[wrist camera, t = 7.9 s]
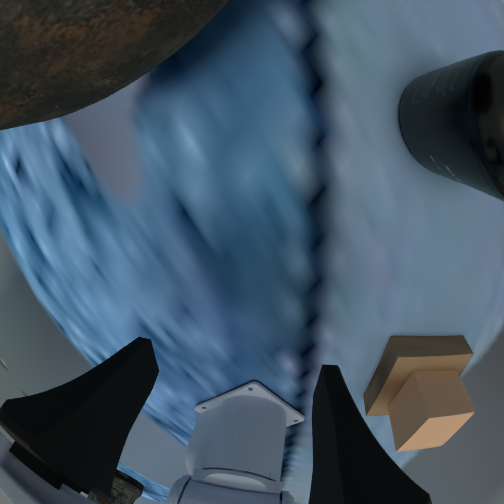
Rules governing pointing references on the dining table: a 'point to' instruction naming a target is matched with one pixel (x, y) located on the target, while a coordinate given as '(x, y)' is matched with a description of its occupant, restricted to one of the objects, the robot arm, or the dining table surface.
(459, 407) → the terracotta cube
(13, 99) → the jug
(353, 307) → the dining table surface
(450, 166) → the supplement bottle
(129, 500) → the beer stein
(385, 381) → the walnut base
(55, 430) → the robot arm
